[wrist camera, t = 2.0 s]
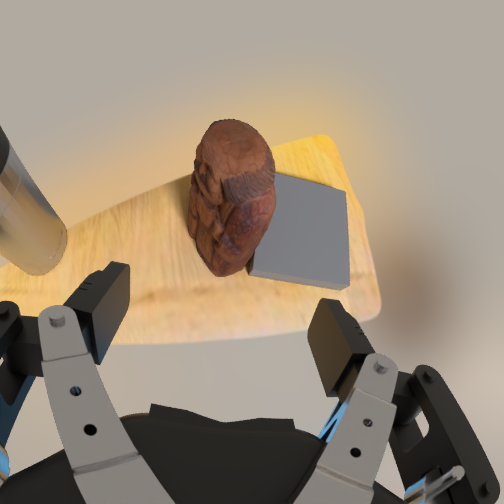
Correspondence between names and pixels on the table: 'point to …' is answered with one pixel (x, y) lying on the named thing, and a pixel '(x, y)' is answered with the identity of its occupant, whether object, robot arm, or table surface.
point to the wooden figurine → (231, 195)
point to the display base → (305, 236)
